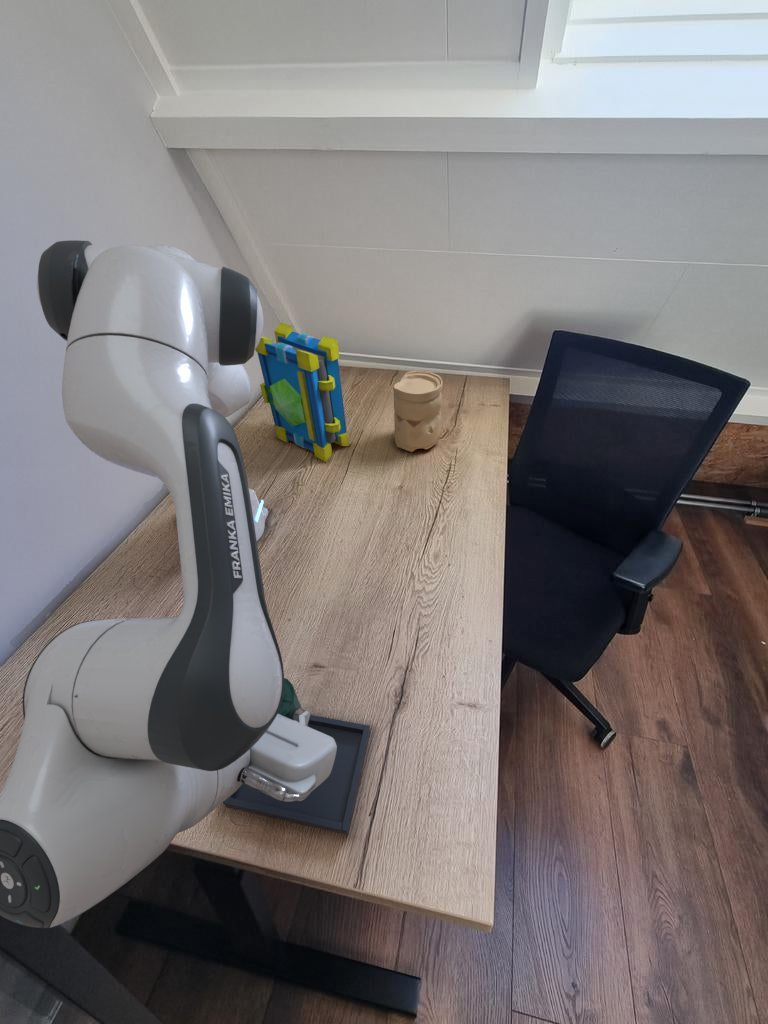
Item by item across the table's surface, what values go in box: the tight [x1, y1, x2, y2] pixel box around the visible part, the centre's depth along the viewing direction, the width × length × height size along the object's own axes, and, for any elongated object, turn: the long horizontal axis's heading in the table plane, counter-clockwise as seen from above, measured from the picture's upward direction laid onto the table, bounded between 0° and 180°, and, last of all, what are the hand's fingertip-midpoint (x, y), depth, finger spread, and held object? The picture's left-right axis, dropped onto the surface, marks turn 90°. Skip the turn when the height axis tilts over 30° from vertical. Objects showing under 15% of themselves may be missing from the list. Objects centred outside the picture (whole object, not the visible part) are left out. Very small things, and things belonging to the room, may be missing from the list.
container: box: [392, 370, 444, 453], centre depth 121 cm, size 13×13×18 cm
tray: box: [222, 714, 371, 836], centre depth 66 cm, size 18×14×2 cm
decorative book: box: [255, 322, 350, 463], centre depth 119 cm, size 14×23×30 cm, turn 50°
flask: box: [278, 677, 309, 727], centre depth 54 cm, size 6×6×17 cm
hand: (278, 705), depth 54 cm, fingers closed on flask, 5 cm apart
